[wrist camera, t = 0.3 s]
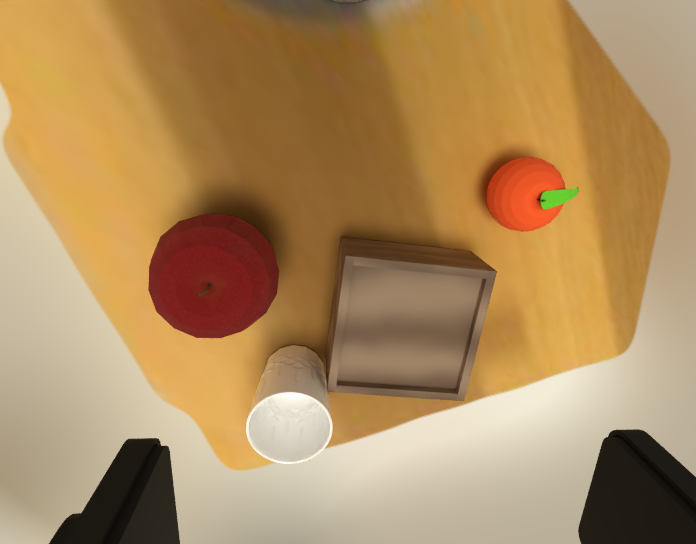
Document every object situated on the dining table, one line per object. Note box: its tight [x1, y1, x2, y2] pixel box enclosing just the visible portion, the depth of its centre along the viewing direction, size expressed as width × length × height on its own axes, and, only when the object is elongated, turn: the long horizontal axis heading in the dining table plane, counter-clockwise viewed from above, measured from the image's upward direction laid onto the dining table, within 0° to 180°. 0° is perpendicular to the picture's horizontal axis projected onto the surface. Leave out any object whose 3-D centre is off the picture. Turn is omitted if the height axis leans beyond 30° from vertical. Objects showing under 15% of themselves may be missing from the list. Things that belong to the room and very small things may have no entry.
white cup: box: [246, 345, 333, 464], centre depth 43 cm, size 8×8×10 cm
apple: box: [149, 213, 279, 338], centre depth 38 cm, size 11×11×12 cm
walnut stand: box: [325, 237, 497, 401], centre depth 43 cm, size 14×14×7 cm
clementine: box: [486, 157, 579, 232], centre depth 40 cm, size 8×7×7 cm
